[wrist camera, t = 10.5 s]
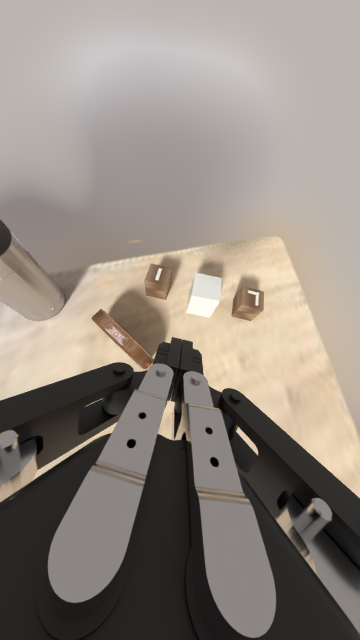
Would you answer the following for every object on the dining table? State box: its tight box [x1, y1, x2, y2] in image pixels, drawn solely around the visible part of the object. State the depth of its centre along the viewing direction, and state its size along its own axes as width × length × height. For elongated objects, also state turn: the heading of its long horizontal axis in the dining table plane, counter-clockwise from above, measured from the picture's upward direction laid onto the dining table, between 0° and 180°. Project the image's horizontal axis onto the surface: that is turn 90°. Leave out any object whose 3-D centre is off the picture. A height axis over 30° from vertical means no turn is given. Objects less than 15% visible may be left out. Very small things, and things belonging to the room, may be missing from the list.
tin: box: [92, 309, 154, 369], centre depth 36 cm, size 15×3×8 cm, turn 48°
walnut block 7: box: [232, 287, 264, 321], centre depth 44 cm, size 5×5×6 cm
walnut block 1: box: [145, 264, 172, 300], centre depth 44 cm, size 5×5×6 cm
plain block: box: [186, 273, 222, 317], centre depth 43 cm, size 6×6×8 cm
